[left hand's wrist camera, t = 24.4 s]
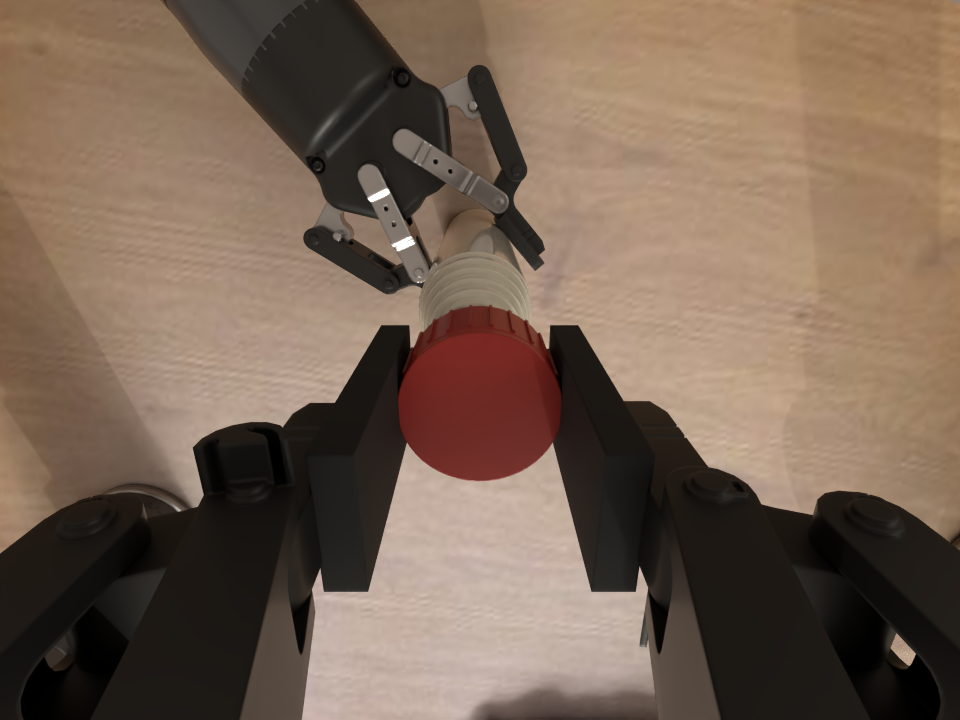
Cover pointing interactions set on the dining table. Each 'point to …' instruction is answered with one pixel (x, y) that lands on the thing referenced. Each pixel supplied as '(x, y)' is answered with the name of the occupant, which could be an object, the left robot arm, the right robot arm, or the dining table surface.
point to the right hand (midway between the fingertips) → (505, 290)
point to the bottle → (474, 271)
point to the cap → (479, 395)
